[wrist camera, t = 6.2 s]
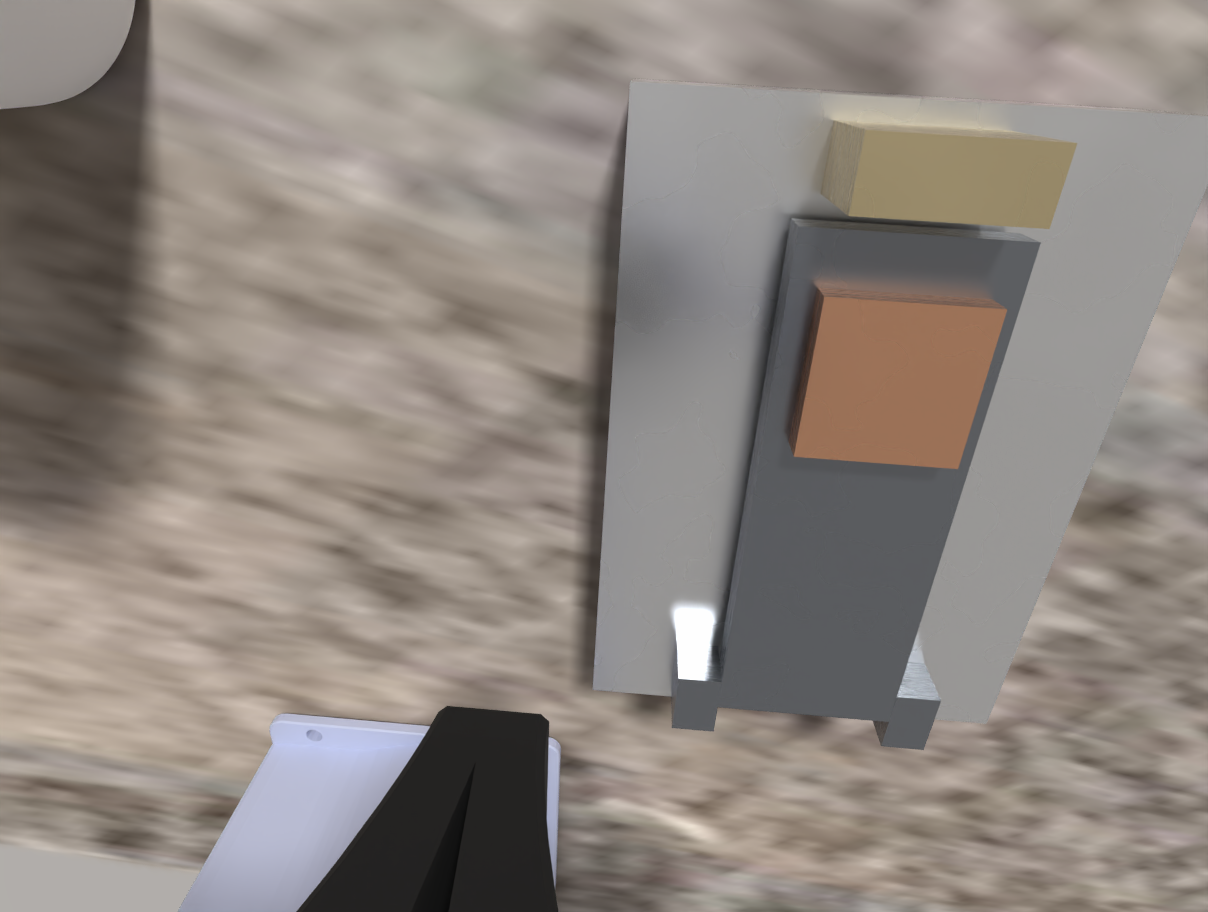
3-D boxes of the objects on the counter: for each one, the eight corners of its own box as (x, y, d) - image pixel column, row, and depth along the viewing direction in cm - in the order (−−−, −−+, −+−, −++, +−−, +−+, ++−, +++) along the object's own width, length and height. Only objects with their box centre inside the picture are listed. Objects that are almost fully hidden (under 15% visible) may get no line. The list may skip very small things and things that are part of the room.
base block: (600, 613, 22) (585, 760, 17) (634, 78, 15) (625, 84, 11) (945, 642, 21) (1024, 799, 17) (1132, 109, 15) (1343, 128, 10)
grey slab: (715, 682, 18) (719, 727, 17) (790, 218, 13) (804, 233, 12) (879, 696, 18) (896, 742, 17) (1019, 233, 13) (1058, 249, 12)
